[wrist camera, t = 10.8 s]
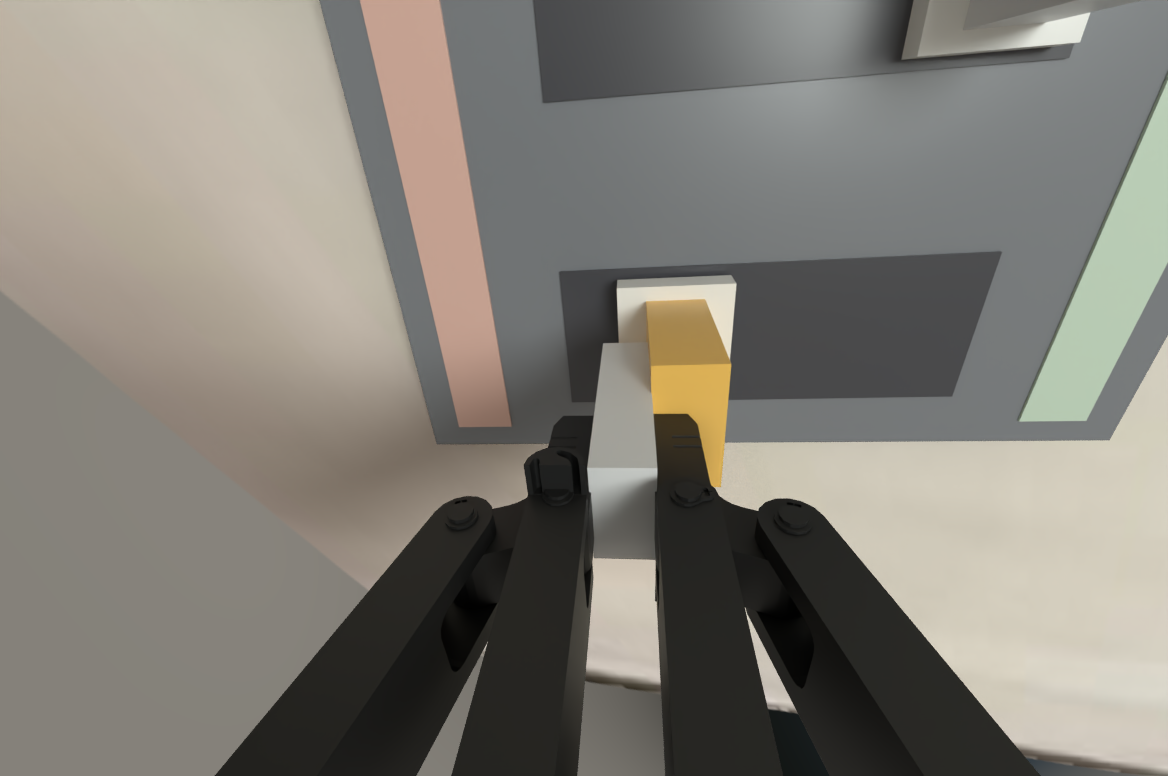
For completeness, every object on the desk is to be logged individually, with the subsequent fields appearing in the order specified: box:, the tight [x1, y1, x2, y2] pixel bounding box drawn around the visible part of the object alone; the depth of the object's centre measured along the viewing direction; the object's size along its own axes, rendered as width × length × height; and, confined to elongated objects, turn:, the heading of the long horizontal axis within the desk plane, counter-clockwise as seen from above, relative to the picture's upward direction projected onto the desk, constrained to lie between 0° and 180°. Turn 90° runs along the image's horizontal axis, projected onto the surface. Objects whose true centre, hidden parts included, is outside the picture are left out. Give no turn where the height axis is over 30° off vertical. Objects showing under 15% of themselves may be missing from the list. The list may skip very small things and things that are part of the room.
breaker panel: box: [319, 0, 1168, 444], centre depth 14 cm, size 20×28×8 cm
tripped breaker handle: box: [617, 275, 736, 487], centre depth 16 cm, size 5×4×6 cm
